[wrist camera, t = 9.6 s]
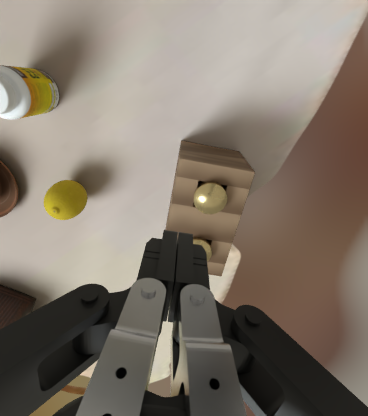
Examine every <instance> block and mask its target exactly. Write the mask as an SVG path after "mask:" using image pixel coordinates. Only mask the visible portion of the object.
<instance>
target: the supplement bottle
mask: <svg viewBox="0 0 368 416" xmlns="http://www.w3.org/2000/svg"><path fill="white" fill-rule="evenodd" d="M58 100H59V92H58V88H57V86H56V84H55V82H54V81H53V79H52V78H51V77H50V76H49V75H48V74H46V73H45V72H43V71H41V70H38V69H31V68H21V67H11V66H1V65H0V117H2V118H5V119H19V118H24V117H28V116H33V115H38V114H43V113H47V112H50V111H52V110H53V109H54V108H55V107H56V106H57V104H58Z"/></svg>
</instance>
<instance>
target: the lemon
mask: <svg viewBox="0 0 368 416" xmlns="http://www.w3.org/2000/svg"><path fill="white" fill-rule="evenodd" d="M86 203H87V193H86V191H85V189H84V188H83V186H82V185H80V184H79V183H77V182H75V181H72V180H64V181H60V182H58V183H56V184H54V185H53V186H52V187H51V188H50V189H49V190H48V191H47V193H46V195H45V197H44V207H45V210H46V211H47V213H48V214H49V215H50V216H52V217H54V218H56V219H60V220H67V219H71V218H73V217H75V216H77V215H78V214H80V213H81V211H82V210H83V209H84V208H85V206H86Z"/></svg>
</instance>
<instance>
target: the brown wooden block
mask: <svg viewBox="0 0 368 416" xmlns="http://www.w3.org/2000/svg"><path fill="white" fill-rule="evenodd" d="M254 174H255V172H254V170H253V169H252V168H251V166H250V165H249V164H248V162H247V161H246V160H245V158H244V157H243V156H242V154H241V153H240V152H239V151H234V150H229V149H223V148H218V147H213V146H208V145H202V144H197V143H192V142H187V141H181V145H180V151H179V156H178V162H177V168H176V173H175V179H174V184H173V190H172V196H171V201H170V207H169V213H168V218H167V224H166V229H165V230H169V231H176V232H178V234H179V232H183V233H190V234H193V237H199V238H203V239H206V240H207V241H208V242H209V244H210V245H211V250H212V255H211V258H210V259H209V260H208V261H207V265H208V266H207V267H208V274H210V275H216V276H222V273H223V270H224V266H225V263H226V260H227V257H228V254H229V251H230V248H231V245H232V242H233V238H234V236H235V232H236V230H237V226H238V223H239V220H240V217H241V214H242V211H243V208H244V205H245V202H246V199H247V196H248V193H249V190H250V186H251V183H252V180H253V177H254ZM198 181H205V182H216V183H218V184H220V185H221V186H223V188H224V189H225V191H226V194H227V203H226V205H225V207H224V208H223V209H222V210H221V211H220V212H218V213H216V214H204V213H202V212H200V211H199V210H198V209H197V208H196V207H195V204H194V192H195V190H196V189H197V185H198ZM177 239H178V236H177Z"/></svg>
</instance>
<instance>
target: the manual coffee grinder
mask: <svg viewBox="0 0 368 416" xmlns="http://www.w3.org/2000/svg"><path fill="white" fill-rule="evenodd" d="M35 300H36V299H35V298H33V297H31V296H29V295H27V294H24V293H21V292H19V291H16V290H13V289H11V288H8V287H5V286H3V285H0V329H2V328H4V327H5V326H7V325H9V324H11V323H13V322H15V321H17V320H19V319H20V318H22V317H24V316H26V315H28V314H30V313H31V312H32V309H33V306H34V303H35Z"/></svg>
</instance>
